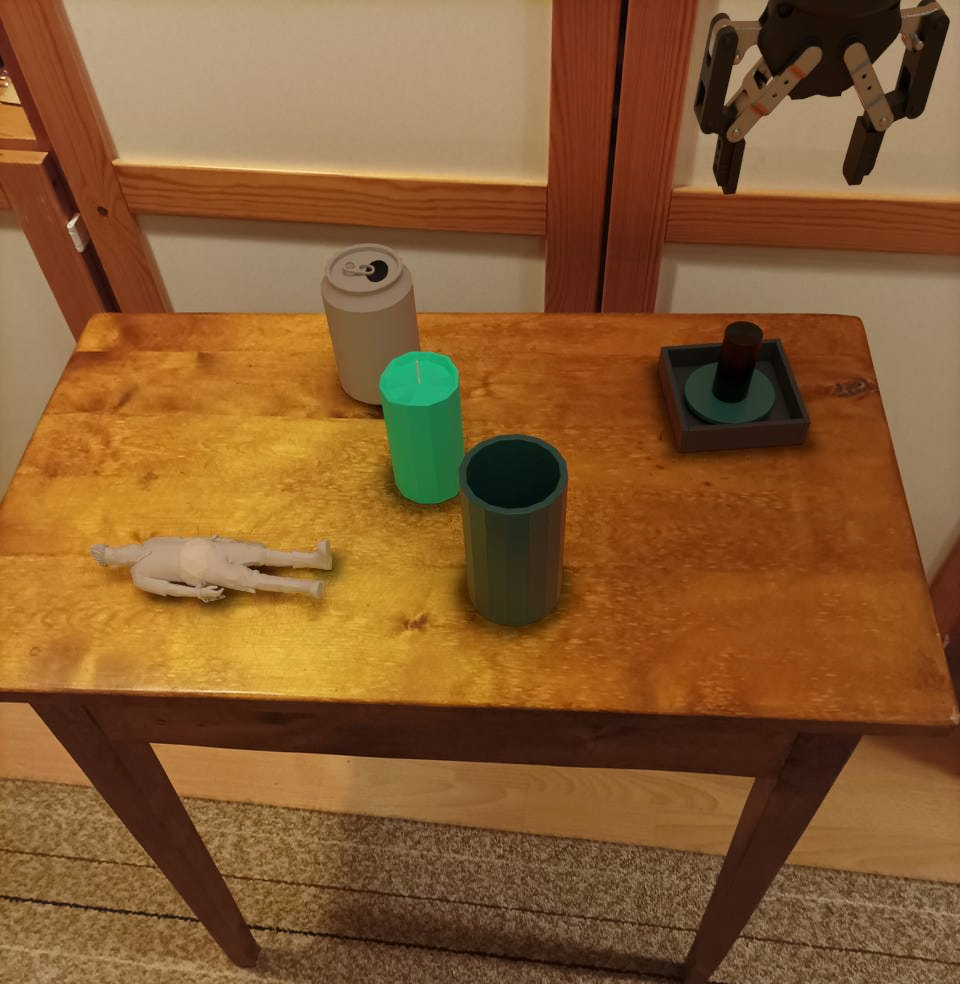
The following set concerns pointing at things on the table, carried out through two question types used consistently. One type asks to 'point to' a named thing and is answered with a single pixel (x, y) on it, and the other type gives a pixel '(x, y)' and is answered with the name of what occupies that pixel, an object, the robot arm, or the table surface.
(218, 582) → the figurine
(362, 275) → the can
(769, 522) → the table surface
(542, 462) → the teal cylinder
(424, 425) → the candle
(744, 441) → the square tray
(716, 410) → the pan lid
